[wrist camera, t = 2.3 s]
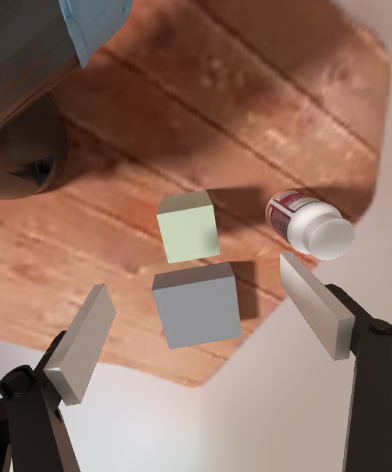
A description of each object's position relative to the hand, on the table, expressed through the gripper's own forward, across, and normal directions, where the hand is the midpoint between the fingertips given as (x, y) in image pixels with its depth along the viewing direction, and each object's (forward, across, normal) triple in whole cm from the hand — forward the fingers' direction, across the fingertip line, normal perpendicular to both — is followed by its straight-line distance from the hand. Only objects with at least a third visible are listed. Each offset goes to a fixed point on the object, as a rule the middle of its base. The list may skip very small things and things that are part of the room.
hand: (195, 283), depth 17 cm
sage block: (+17, 0, 0) cm, 17 cm away
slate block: (+17, -1, -15) cm, 22 cm away
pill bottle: (+17, +14, -2) cm, 22 cm away
